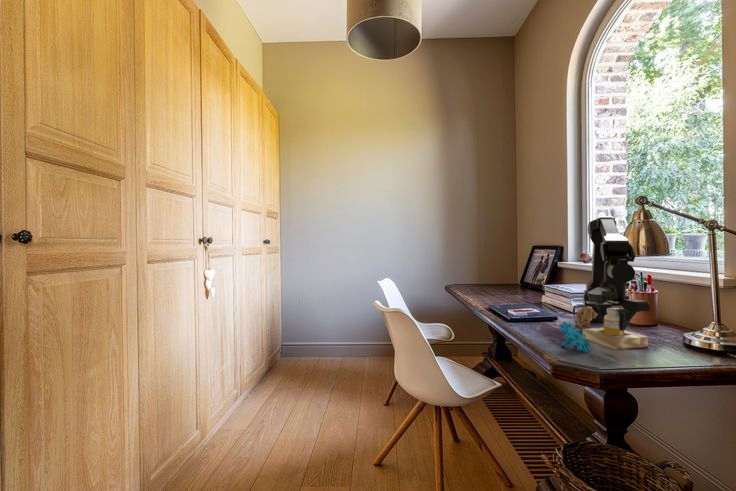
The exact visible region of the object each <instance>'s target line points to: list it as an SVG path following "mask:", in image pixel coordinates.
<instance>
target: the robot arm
mask: <svg viewBox="0 0 736 491" xmlns="http://www.w3.org/2000/svg"><path fill="white" fill-rule="evenodd" d="M587 234H588V235H589V236H588V237H589V239H590V240H591V242H592V243H593V245H592V246H593V248H592V250H593V251H592V263H591V278H590V280H588V283H587V284H586V286H585V290H584V291H583V295H582V296H583V297H582V304H583V306H585V307H587V306H590V307H592V309H593V310H594V311H595V312H596V313H597V314H598V315H597V316H596V318H593V317H592V320H591V321H590V323H596V324H597V323H598V324H599V323H603V325H604V316H605V315H607V314H608V313H607V308H613V305H617V306H621V308H618V309H616V310H617V311H618V313H619V314H620V330H621V331H624V330H625V331H626V329H627V326H628V325H629V323H630V322H631V321H632V319H633V317H635V316H636V314H637V313H639V312H650V311H651V305H650V303H649V301H648V300H644V299H643V300H642V299H630V296H629V295H627V287H630V282H631V281H633V280H634V278H635V277H636V271H635V268H634V267H633V266H632V265H630V264H629V263H630V262H631V263H634V262H635V259H636V254H635V249H634V247H633V246H632V243H631V242H630V241H629V240H628V238H627V237H626V236H624V235H621V234H620V232H619V229H618V227H617V220H616V218H615V217H614V216H610V215H608V216H607V215H606V216H598V217H597V218H596V219H593V220H591V221H589V223H588V225H587Z"/></svg>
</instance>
